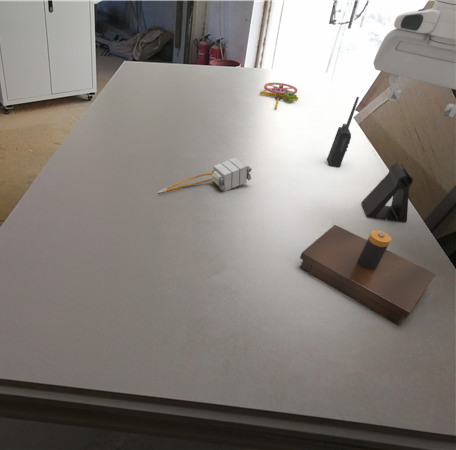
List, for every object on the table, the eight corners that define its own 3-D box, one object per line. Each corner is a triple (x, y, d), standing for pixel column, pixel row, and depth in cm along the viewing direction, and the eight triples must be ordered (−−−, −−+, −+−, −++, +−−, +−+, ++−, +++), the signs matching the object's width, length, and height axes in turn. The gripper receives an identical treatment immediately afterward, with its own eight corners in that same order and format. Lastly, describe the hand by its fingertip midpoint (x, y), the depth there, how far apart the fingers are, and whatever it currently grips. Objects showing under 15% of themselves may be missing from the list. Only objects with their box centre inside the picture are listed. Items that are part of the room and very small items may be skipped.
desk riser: (426, 288, 77) (436, 273, 75) (399, 328, 69) (409, 312, 67) (329, 238, 88) (334, 224, 86) (296, 267, 80) (301, 252, 78)
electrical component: (168, 215, 98) (166, 199, 94) (157, 202, 102) (155, 186, 98) (251, 181, 103) (252, 165, 100) (238, 170, 108) (238, 154, 104)
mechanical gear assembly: (298, 88, 171) (262, 84, 174) (301, 78, 168) (264, 74, 172) (296, 113, 148) (255, 108, 151) (299, 101, 145) (257, 97, 149)
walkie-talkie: (340, 168, 115) (366, 99, 103) (328, 166, 116) (353, 97, 104) (338, 160, 119) (362, 93, 107) (326, 158, 120) (349, 91, 108)
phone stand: (398, 208, 100) (420, 165, 93) (406, 222, 95) (429, 178, 88) (360, 203, 101) (379, 160, 93) (366, 217, 96) (386, 173, 89)
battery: (380, 263, 76) (395, 234, 72) (372, 272, 74) (388, 242, 70) (362, 254, 78) (376, 225, 74) (354, 262, 76) (368, 233, 72)
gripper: (539, 34, 61) (489, 121, 69) (400, 11, 72) (371, 88, 81) (532, 39, 58) (480, 130, 66) (387, 14, 69) (358, 95, 77)
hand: (419, 107), depth 73 cm, fingers open, 8 cm apart
